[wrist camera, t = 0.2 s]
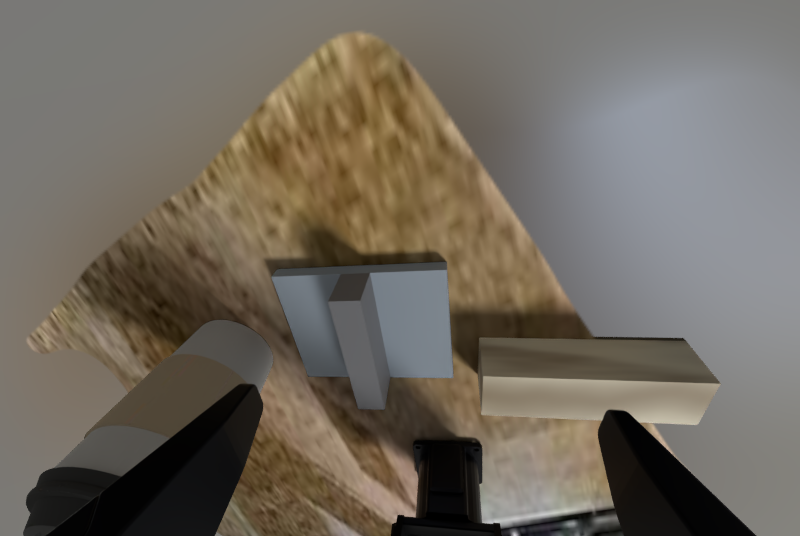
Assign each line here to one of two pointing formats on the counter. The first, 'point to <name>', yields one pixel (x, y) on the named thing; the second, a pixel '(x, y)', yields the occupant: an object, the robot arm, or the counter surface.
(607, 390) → the ash bar
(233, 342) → the coffee cup
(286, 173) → the counter surface
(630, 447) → the robot arm
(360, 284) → the ridge stand
